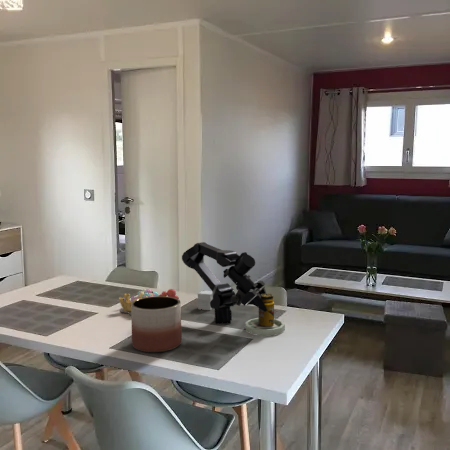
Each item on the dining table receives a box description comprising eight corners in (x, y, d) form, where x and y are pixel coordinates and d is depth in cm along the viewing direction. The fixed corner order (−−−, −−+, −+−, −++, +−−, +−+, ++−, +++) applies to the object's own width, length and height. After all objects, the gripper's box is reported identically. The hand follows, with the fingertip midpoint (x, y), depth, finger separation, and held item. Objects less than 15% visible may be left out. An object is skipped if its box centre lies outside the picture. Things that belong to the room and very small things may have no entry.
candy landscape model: (153, 321, 209) (153, 299, 208) (110, 313, 220) (109, 293, 219) (186, 306, 231) (186, 286, 229) (145, 299, 242) (144, 281, 241)
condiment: (277, 326, 194) (278, 296, 192) (257, 329, 191) (258, 298, 189) (269, 320, 201) (270, 291, 199) (250, 323, 198) (250, 293, 196)
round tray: (247, 336, 188) (247, 330, 188) (243, 323, 203) (243, 318, 203) (287, 334, 189) (287, 329, 189) (280, 322, 204) (280, 317, 204)
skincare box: (210, 310, 222) (210, 294, 221) (197, 309, 224) (197, 293, 223) (215, 306, 227) (215, 291, 227) (202, 305, 230) (202, 290, 229)
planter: (174, 355, 171) (173, 310, 169) (124, 352, 174) (122, 308, 172) (187, 337, 188) (186, 296, 186) (141, 335, 191) (140, 295, 189)
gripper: (233, 286, 208) (258, 314, 206) (219, 298, 190) (248, 329, 188) (251, 268, 205) (278, 297, 203) (239, 279, 187) (268, 310, 185)
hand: (268, 308), depth 195 cm, fingers closed on condiment, 6 cm apart
